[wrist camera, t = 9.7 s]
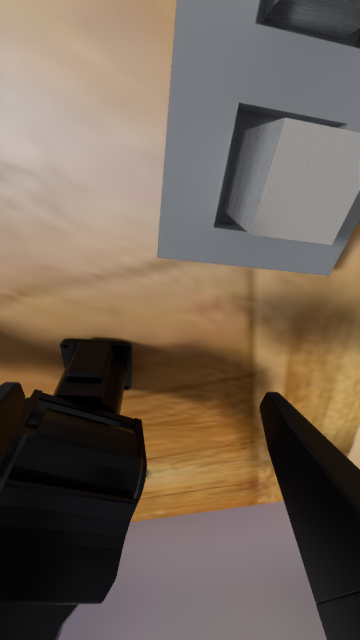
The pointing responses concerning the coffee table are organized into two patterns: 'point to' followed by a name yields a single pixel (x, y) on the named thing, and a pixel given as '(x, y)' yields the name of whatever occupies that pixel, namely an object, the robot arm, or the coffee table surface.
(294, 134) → the billet
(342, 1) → the block
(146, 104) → the coffee table surface
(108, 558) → the robot arm
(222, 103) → the pallet
